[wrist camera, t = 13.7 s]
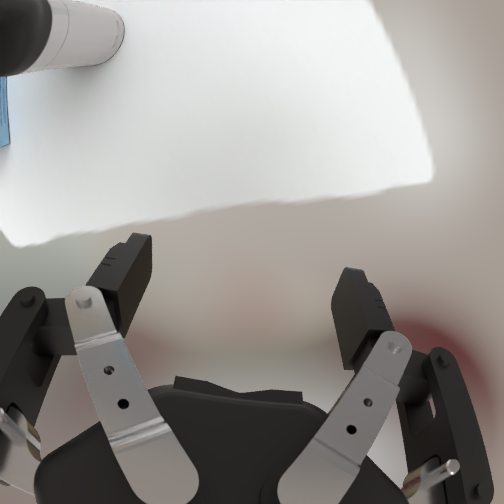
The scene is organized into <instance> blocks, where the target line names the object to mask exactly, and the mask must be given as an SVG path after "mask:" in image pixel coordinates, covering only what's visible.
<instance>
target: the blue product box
mask: <svg viewBox="0 0 504 504" xmlns="http://www.w3.org/2000/svg"><path fill="white" fill-rule="evenodd" d="M7 144H10V141H9V130H8V117H7V99H6V77H0V148H1V147H3V146H5V145H7Z"/></svg>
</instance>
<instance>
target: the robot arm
mask: <svg viewBox="0 0 504 504" xmlns="http://www.w3.org/2000/svg"><path fill="white" fill-rule="evenodd" d="M123 36H124V25H123V22H122V19H121V18H120V16H119V15H118V14H117V13H116V12H114V11H112V10H109V9H105V8H102V7H98V6H95V5H91V4H87V3H83V2H78V1H74V0H0V77H7V76H12V75H17V74H23V73H29V72H34V71H41V70H48V69H57V68H66V67H77V66H90V65H98V64H101V63H103V62H105V61H107V60H108V59H110V58H111V57H112V56H113V55H114V54H115V53H116V51H117V50H118V48H119V47H120V45H121V42H122V40H123ZM151 273H152V237H151V235H146V234H140V233H132V235H131V236H130V237H129V239H128V241H127V242H126V243H118V244H117V245H115V246H113V247H112V248H111V249H110V250H109V251H108V253H107V254H106V255H105V258H103V260H102V262H101V264H99V266H98V267H97V269H96V270H95V272H94V273H93V275H92V276H91V278H90V279H89V281H88V282H87V284H86V285H85V286H80V287H77V288H75V289H73V290H71V291H70V292H69V293H68V294H67V296H66V298H55V299H46V297H45V294H44V292H43V291H42V290H41V289H40V288H37V287H26V288H24V289H21V290H20V291H18V292H17V293H16V294H15V295H14V296H13V298H12V300H11V301H10V302H9V304H8V305H7V307H6V308H5V310H4V311H3V313H2V315H1V316H0V484H2V485H6V486H9V485H12V486H14V487H16V488H18V489H21V490H23V491H25V492H27V493H29V494H31V495H33V496H35V498H36V502H37V504H490V503H491V501H492V499H493V495H494V486H493V481H492V476H491V471H490V467H489V463H488V458H487V454H486V450H485V446H484V442H483V439H482V435H481V431H480V428H479V425H478V421H477V418H476V415H475V411H474V408H473V405H472V402H471V399H470V396H469V393H468V390H467V387H466V385H465V382H464V379H463V377H462V374H461V371H460V368H459V366H458V363H457V361H456V359H455V357H454V356H453V355H452V354H451V352H449V351H448V350H446V349H444V348H442V347H435V348H433V349H432V350H431V351H430V353H429V354H428V355H426V354H424V353H421V352H418V351H415V350H412V346H411V344H410V342H409V341H408V339H407V338H406V337H404V336H403V335H402V334H400V333H398V332H395V329H394V327H393V324H392V322H391V319H390V316H389V314H388V311H387V309H386V306H385V304H384V302H383V299H382V297H381V294H380V292H379V290H378V289H377V288H376V287H375V286H374V285H373V284H372V283H369V282H368V281H367V278H366V276H365V273H364V271H363V270H361V269H354V268H348V267H346V268H344V270H343V272H342V274H341V277H340V279H339V282H338V284H337V287H336V289H335V291H334V294H333V296H332V301H331V310H332V315H333V319H334V323H335V328H336V333H337V338H338V342H339V347H340V352H341V357H342V362H343V367H344V370H354V372H355V375H354V376H353V378H352V379H351V381H350V382H349V384H348V385H347V387H346V388H345V390H344V391H343V393H342V394H341V395H340V397H339V398H338V400H337V401H336V403H335V404H334V406H333V407H332V408H331V410H330V411H329V412H328V413H326V412H324V411H323V410H321V409H320V408H318V407H316V406H315V405H313V404H310V403H308V402H304V401H303V398H302V392H297V391H284V390H265V391H255V392H246V393H238V392H234V391H232V390H229V389H226V388H223V387H221V386H218V385H215V384H213V383H210V382H207V381H202V380H195V379H190V378H185V377H179V376H176V377H175V381H174V385H163V386H158V387H154V388H151V389H149V390H147V389H146V387H145V385H144V383H143V381H142V379H141V377H140V375H139V373H138V371H137V369H136V367H135V364H134V362H133V360H132V358H131V356H130V354H129V352H128V349H127V347H126V345H125V343H124V341H123V339H122V338H125V336H126V334H127V332H128V329H129V326H130V324H131V322H132V320H133V317H134V315H135V313H136V310H137V308H138V306H139V303H140V301H141V299H142V297H143V294H144V292H145V290H146V288H147V285H148V283H149V281H150V278H151ZM61 355H77V356H78V359H79V363H80V366H81V369H82V372H83V375H84V378H85V381H86V384H87V387H88V390H89V393H90V395H91V398H92V401H93V403H94V406H95V408H96V411H97V414H98V416H99V419H100V421H99V422H98V423H96V424H95V425H93V426H92V427H90V428H88V429H87V430H86V431H84V432H82V433H81V434H79V435H78V436H76V437H75V438H73V439H71V440H70V441H68V442H67V443H65V444H64V445H62V446H60V447H59V448H57V449H56V450H54V451H52V452H51V453H50V454H48V455H47V456H46V457H45V458H44V459H43V460H42V459H41V455H40V447H41V439H40V436H39V433H38V432H37V430H36V429H35V428H34V426H35V423H36V420H37V417H38V414H39V412H40V409H41V406H42V403H43V400H44V398H45V395H46V392H47V390H48V387H49V385H50V382H51V380H52V377H53V375H54V372H55V370H56V367H57V365H58V363H59V360H60V358H61ZM431 398H433V402H434V406H435V409H436V415H435V418H433V414H432V410H431V406H430V402H429V400H430V399H431ZM395 400H396V404H397V409H398V413H399V419H400V424H401V430H402V436H403V442H404V447H405V454H406V461H407V468H408V474H407V476H406V477H405V479H404V481H403V487H402V488H401V489H400V488H399V487H398V486H397V485H396V484H394V482H393V481H392V480H390V479H389V477H388V476H386V474H385V473H384V472H383V471H382V470H381V469H380V468H378V466H377V465H376V464H375V463H374V462H373V461H372V460H371V459H370V458H369V457H368V456H367V453H368V451H369V449H370V448H371V446H372V444H373V442H374V440H375V439H376V437H377V435H378V433H379V431H380V429H381V428H382V426H383V424H384V422H385V420H386V418H387V416H388V414H389V412H390V410H391V408H392V406H393V404H394V401H395Z"/></svg>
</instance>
